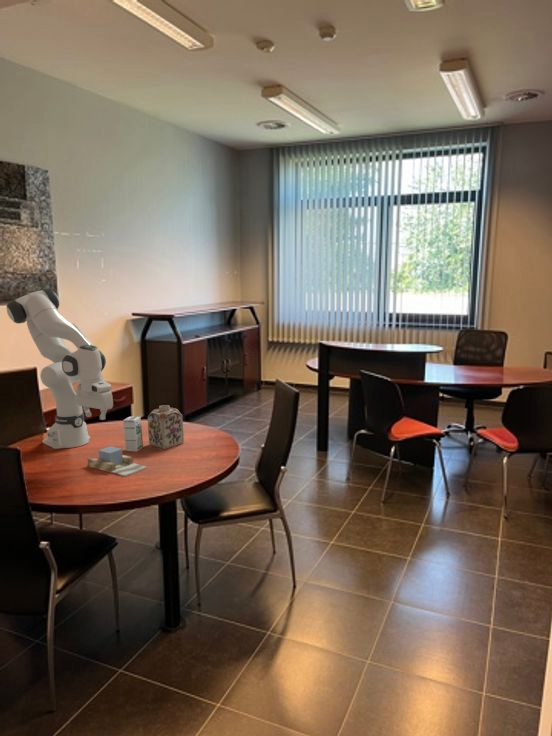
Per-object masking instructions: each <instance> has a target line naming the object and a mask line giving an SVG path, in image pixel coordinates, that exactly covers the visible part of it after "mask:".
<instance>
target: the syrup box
mask: <svg viewBox="0 0 552 736" xmlns="http://www.w3.org/2000/svg"><path fill="white" fill-rule="evenodd" d="M141 418H142V417H141V416H137V415H136V416H128V417H126V418H125V419H123V420H122V422H123V434H124V436H123V437H124V443H125V451H126V452H139V451H140V450H141V449H143V448H144V444H143V443H144V441H143V429H142V419H141Z"/></svg>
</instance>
